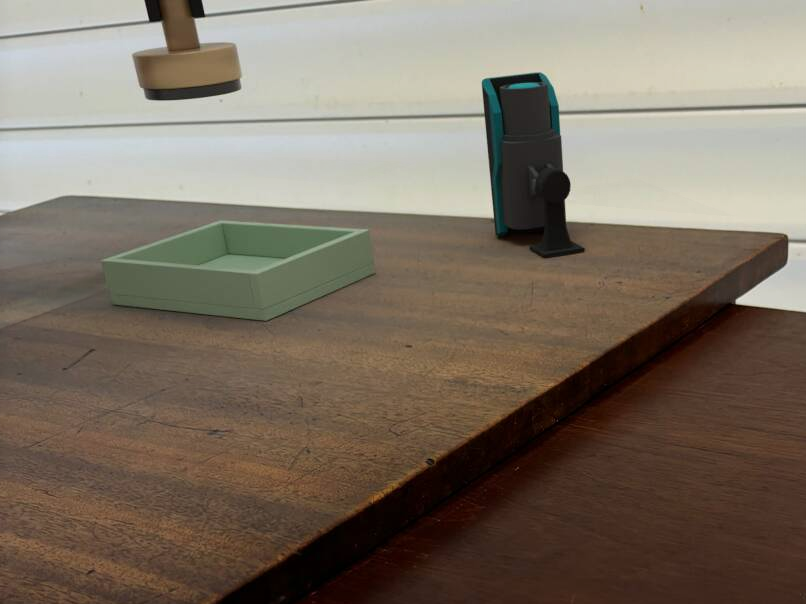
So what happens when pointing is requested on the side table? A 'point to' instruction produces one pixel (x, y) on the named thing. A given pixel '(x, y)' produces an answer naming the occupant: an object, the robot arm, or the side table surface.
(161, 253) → the tray
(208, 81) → the peg on round base
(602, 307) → the side table surface
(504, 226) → the surveillance camera
